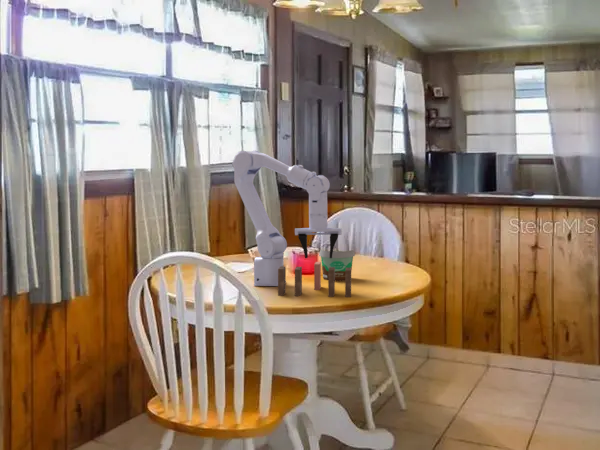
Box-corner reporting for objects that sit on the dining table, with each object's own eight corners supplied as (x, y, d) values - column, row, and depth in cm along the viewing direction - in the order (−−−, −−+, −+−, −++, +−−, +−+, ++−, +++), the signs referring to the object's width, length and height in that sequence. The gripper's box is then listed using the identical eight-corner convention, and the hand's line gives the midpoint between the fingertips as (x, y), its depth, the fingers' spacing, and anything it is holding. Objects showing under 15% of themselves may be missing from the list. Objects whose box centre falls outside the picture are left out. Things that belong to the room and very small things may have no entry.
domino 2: (294, 295, 211) (294, 269, 210) (296, 292, 216) (296, 266, 215) (300, 296, 211) (300, 269, 210) (301, 292, 216) (301, 266, 215)
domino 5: (345, 297, 210) (345, 270, 209) (345, 293, 215) (346, 267, 214) (350, 297, 210) (350, 270, 209) (351, 293, 215) (351, 267, 214)
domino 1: (278, 295, 212) (278, 269, 211) (280, 292, 217) (280, 266, 216) (283, 295, 212) (283, 269, 211) (285, 292, 217) (285, 266, 216)
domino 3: (314, 289, 221) (314, 264, 220) (315, 286, 226) (315, 261, 225) (319, 289, 220) (319, 264, 220) (320, 286, 225) (320, 261, 225)
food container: (323, 282, 233) (323, 252, 232) (318, 279, 239) (319, 249, 238) (359, 281, 235) (359, 251, 234) (354, 277, 241) (354, 248, 240)
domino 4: (328, 296, 210) (328, 270, 209) (329, 293, 215) (329, 267, 214) (333, 296, 210) (333, 270, 209) (334, 293, 215) (334, 267, 214)
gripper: (293, 215, 217) (294, 259, 219) (341, 215, 216) (341, 259, 217) (295, 213, 224) (296, 256, 226) (341, 213, 223) (342, 256, 224)
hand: (318, 257), depth 222 cm, fingers open, 7 cm apart
